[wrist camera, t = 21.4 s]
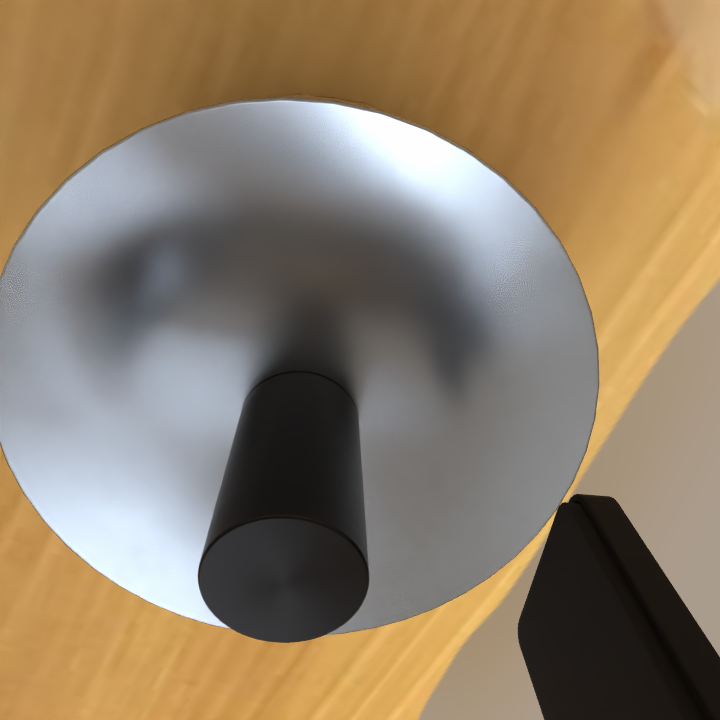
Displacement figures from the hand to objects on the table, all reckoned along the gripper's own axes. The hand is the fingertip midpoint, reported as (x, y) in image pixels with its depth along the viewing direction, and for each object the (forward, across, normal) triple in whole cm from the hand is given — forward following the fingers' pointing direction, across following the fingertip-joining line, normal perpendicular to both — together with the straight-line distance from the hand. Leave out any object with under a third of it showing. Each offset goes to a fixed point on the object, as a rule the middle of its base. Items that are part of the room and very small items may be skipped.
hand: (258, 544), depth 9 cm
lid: (+5, 0, 0) cm, 5 cm away
